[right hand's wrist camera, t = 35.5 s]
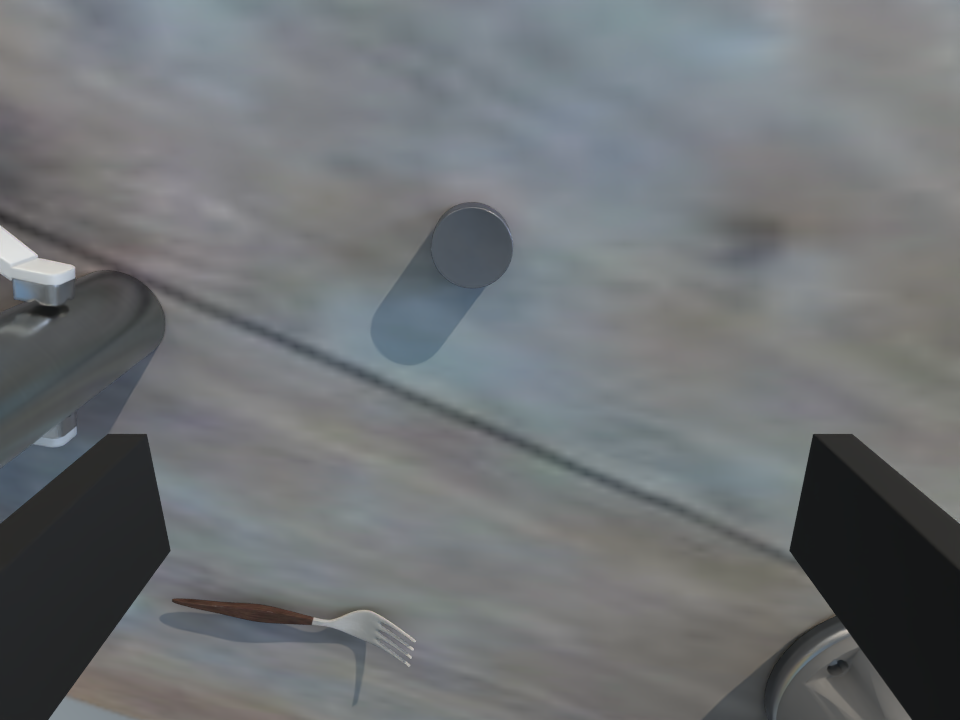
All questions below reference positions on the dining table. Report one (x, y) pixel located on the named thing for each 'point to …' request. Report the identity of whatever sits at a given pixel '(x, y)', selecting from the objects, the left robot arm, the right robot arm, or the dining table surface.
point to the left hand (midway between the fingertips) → (69, 360)
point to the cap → (472, 245)
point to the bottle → (70, 353)
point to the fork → (311, 621)
